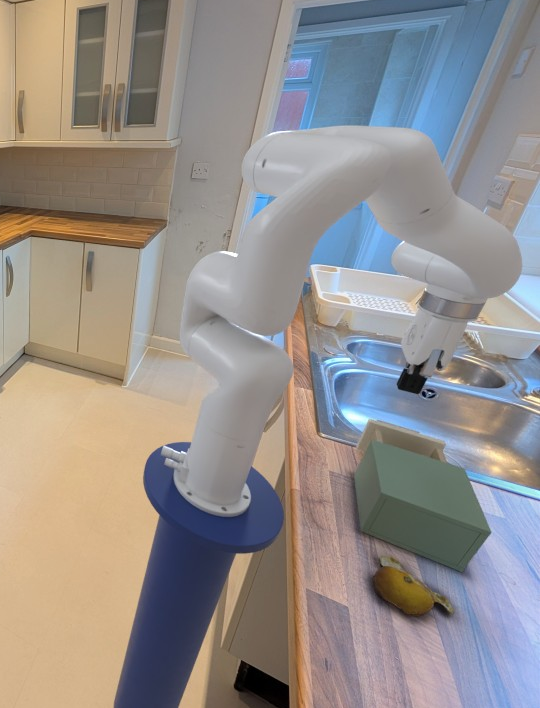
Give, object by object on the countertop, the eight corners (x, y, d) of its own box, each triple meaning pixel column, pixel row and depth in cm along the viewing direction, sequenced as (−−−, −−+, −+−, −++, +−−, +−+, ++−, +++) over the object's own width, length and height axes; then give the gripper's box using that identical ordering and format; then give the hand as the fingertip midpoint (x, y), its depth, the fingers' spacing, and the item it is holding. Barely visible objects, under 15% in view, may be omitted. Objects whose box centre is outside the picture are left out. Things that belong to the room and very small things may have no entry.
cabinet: (353, 475, 77) (371, 439, 74) (440, 505, 72) (464, 468, 68) (360, 531, 67) (381, 492, 64) (462, 572, 61) (491, 532, 58)
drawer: (354, 433, 86) (366, 406, 83) (423, 454, 81) (439, 427, 78) (361, 489, 74) (377, 459, 71) (444, 519, 68) (464, 488, 65)
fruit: (457, 609, 57) (470, 592, 55) (424, 637, 54) (436, 620, 52) (384, 554, 64) (394, 538, 62) (351, 577, 61) (361, 560, 59)
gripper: (413, 286, 82) (377, 365, 90) (429, 315, 71) (387, 403, 79) (467, 294, 78) (425, 377, 86) (494, 327, 67) (442, 418, 75)
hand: (407, 389), depth 82 cm, fingers closed
